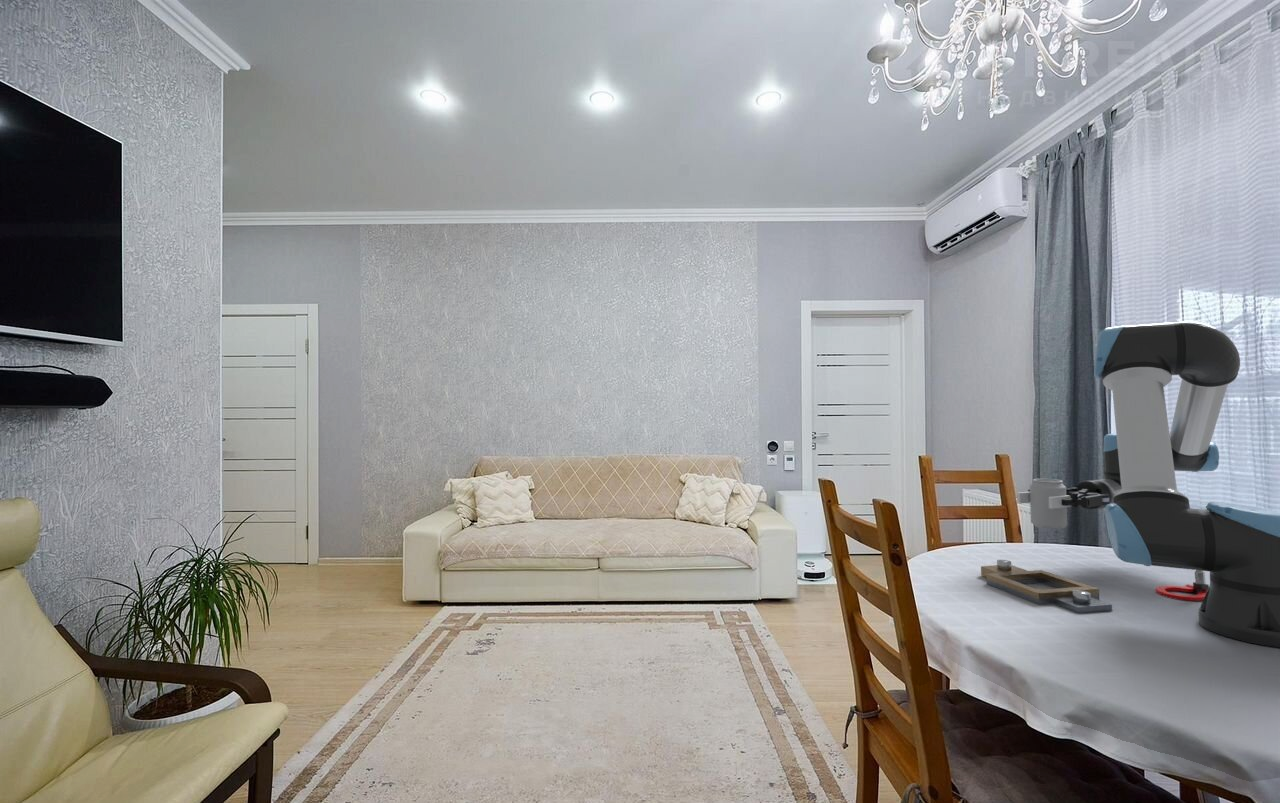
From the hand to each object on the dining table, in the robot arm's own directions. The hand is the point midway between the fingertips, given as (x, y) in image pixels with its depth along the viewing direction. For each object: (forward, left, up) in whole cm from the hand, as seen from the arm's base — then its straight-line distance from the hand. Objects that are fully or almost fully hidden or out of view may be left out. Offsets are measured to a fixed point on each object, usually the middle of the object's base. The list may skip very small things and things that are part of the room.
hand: (1034, 500), depth 143 cm
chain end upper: (-7, +9, -19) cm, 22 cm away
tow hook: (-19, -19, -19) cm, 33 cm away
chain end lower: (-13, +9, -19) cm, 25 cm away
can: (+1, -5, -7) cm, 9 cm away
